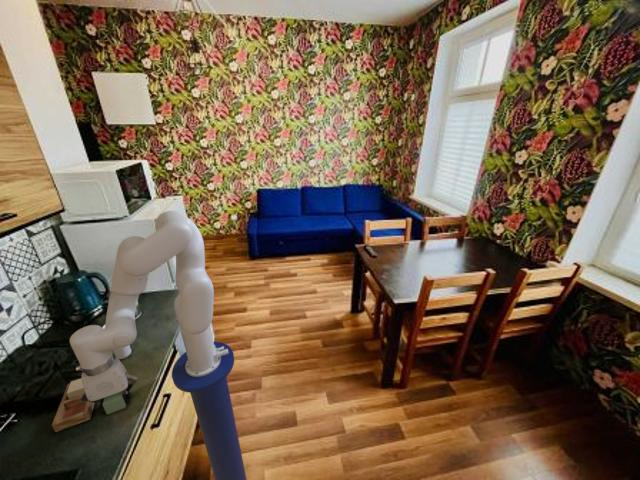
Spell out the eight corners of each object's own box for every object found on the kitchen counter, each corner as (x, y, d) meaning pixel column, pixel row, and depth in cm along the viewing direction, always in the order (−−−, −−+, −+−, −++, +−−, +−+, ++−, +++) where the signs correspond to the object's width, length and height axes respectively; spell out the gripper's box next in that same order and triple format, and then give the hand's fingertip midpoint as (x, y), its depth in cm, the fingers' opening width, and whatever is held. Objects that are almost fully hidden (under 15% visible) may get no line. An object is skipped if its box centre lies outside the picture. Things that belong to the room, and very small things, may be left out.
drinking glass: (115, 351, 108) (103, 322, 102) (134, 346, 111) (124, 317, 105) (112, 364, 102) (99, 333, 96) (133, 357, 105) (121, 327, 99)
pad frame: (100, 380, 96) (97, 374, 94) (90, 419, 83) (86, 412, 82) (71, 390, 92) (67, 384, 91) (55, 432, 79) (51, 425, 78)
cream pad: (93, 384, 93) (89, 375, 92) (90, 396, 89) (85, 387, 88) (75, 390, 91) (70, 381, 90) (71, 403, 87) (66, 393, 85)
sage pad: (127, 395, 90) (123, 385, 89) (125, 407, 86) (121, 398, 85) (109, 401, 88) (105, 392, 87) (106, 414, 84) (102, 405, 83)
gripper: (58, 385, 73) (81, 427, 81) (131, 361, 81) (146, 402, 88) (66, 365, 80) (87, 406, 87) (134, 345, 87) (148, 384, 94)
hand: (117, 403), depth 87 cm, fingers closed on sage pad, 5 cm apart
